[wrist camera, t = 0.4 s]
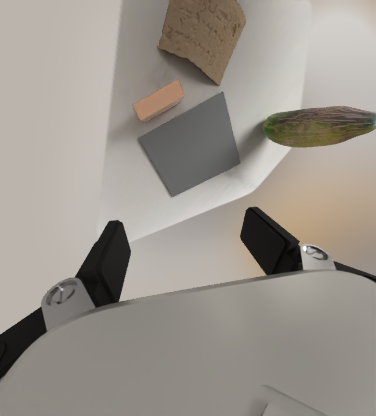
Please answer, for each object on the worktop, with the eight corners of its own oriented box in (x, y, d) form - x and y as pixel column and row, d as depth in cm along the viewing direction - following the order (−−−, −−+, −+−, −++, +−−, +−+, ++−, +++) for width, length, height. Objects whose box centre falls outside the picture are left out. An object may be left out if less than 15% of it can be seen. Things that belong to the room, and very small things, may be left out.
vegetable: (274, 140, 36) (377, 152, 19) (251, 144, 35) (335, 159, 18) (279, 112, 33) (409, 95, 15) (254, 115, 32) (360, 101, 15)
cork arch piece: (154, 49, 25) (153, 41, 22) (171, -41, 21) (172, -62, 18) (222, 90, 29) (227, 86, 27) (248, 23, 25) (257, 12, 23)
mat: (221, 92, 29) (223, 91, 28) (239, 162, 37) (240, 163, 37) (138, 138, 31) (138, 138, 30) (172, 195, 39) (172, 196, 38)
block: (174, 90, 28) (178, 78, 21) (179, 103, 29) (184, 95, 22) (139, 110, 28) (132, 105, 21) (145, 122, 29) (140, 120, 23)
